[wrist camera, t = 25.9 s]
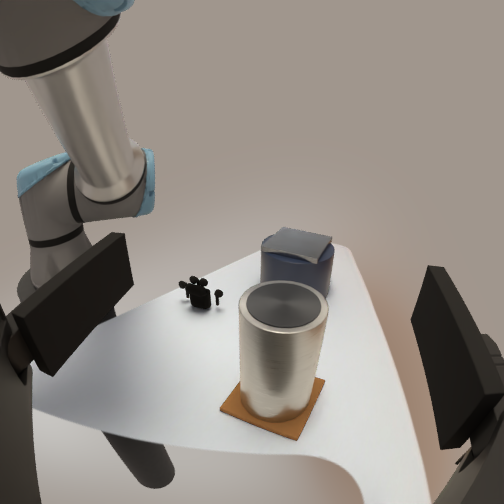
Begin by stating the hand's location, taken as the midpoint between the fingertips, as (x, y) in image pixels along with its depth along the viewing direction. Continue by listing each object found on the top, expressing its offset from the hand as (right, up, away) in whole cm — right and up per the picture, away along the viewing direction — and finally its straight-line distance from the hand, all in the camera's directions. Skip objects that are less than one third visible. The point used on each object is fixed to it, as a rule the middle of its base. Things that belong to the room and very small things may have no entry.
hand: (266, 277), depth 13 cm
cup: (+2, -14, +18) cm, 22 cm away
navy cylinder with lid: (+6, -5, +37) cm, 38 cm away
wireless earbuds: (-8, -7, +32) cm, 34 cm away
